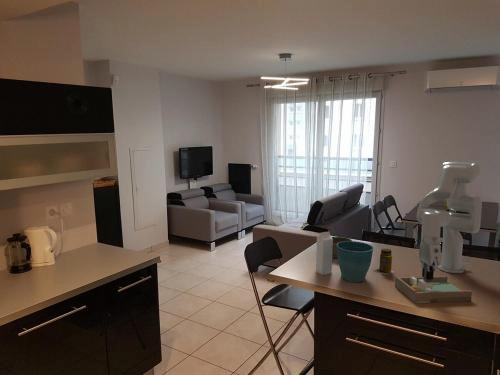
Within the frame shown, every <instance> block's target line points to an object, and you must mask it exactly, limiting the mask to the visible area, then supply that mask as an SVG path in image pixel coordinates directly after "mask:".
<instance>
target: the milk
mask: <svg viewBox="0 0 500 375" xmlns="http://www.w3.org/2000/svg"><path fill="white" fill-rule="evenodd" d="M332 237H333V236H332V235H331V233H330V231H323V232H320V234H319V236H317V237H316V258H315V260H316V261H315V262H316V263H315V272H317V273H318V274H320V275H322V276H324V275H330V274H331V275H332V273H333V272H332V270H333V257H332V247H333V239H332Z"/></svg>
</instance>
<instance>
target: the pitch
mask: <svg viewBox="0 0 500 375" xmlns="http://www.w3.org/2000/svg"><path fill="white" fill-rule="evenodd" d="M423 278H424V277H422V276H407V277H405V276H402V277H398V276H397V277H395V279H394V287H395V289H397V290H399V291H400V293H402V294H403V295H404V296H406V297H407V298H408V299H409V300H411V301H412V302H413V303H414V304H423V303H450V302H452V303H453V302H471V301H472V294H473V293H472V292H473V291H472V290H468V289H467V290H462V289H460V288H458V287H456V286H455V285H454V284H451V282H448V278H449V277H448V276H447V275H441V276H434V275H433V279H432V280H431V282H432V283H440V285H433V289H430V288H426V291H423V290H422V289H420V288H419V287H418V279H423ZM413 285H415V286H417V287H418V288H419V291H418V292H417V291H416V290H415V289H413V288H412V287H411V286H413Z"/></svg>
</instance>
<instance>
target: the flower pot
mask: <svg viewBox="0 0 500 375" xmlns="http://www.w3.org/2000/svg"><path fill="white" fill-rule="evenodd" d="M374 249H375V248H374V246H373V245H371V244H369V243H366V242H362V241H357V240H355V241H354V240H352V241H343V242H339V243H338V244H337V256H338V258H337V263H338V267H339V271H340V276H341V278H342V279H343V280H345V281H347V282H354V283H355V282H356V283H358V282H364V281H365V280H366V277H367V275H368V271H369V270H370V267H371V265H372V258H373V253H374V252H373V251H374Z"/></svg>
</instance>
